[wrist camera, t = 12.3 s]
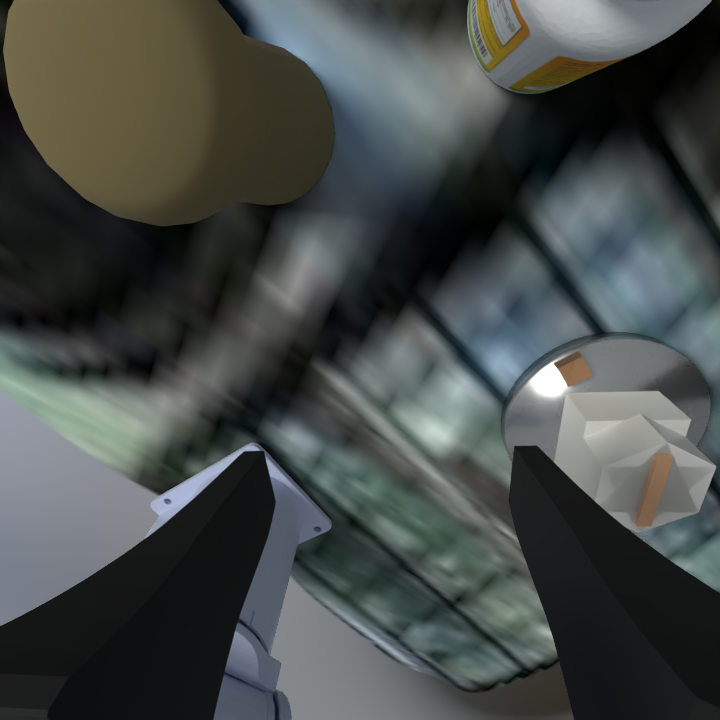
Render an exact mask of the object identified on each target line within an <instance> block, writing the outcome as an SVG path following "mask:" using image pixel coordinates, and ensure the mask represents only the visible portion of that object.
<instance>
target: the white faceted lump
mask: <svg viewBox="0 0 720 720" xmlns="http://www.w3.org/2000/svg"><path fill="white" fill-rule="evenodd" d="M690 422H691V419H690V418H689V417H688V416H687V415H685V414H684V413H683V412H682V411H681V410H680V409H679V408H677V407H676V406H675V405H674V404H673V403H672V402H671V401H669V400H668V399H667V398H666V397H665V396H664V395H663V394H662V393H660V392H659V391H636V392H588V393H566V396H565V402H564V408H563V414H562V420H561V425H560V431H559V437H558V443H557V449H556V455H555V461H554V462H555V464H556V465H557V466H558V467H559V468H560V469H561V470H562V471H563V472H564V473H565V474H566V475H567V476H568V477H569V478H570V479H572V480H573V481H574V482H575V483H576V484H577V485H578V486H579V487H580V488H581V489H582V490H583V491H584V492H585V493H586V494H588V495H589V496H590V497H591V498H592V499H593V500H594V501H595V502H596V503H597V504H598V505H600V506H601V507H602V508H603V509H604V510H605V511H606V512H608V513H609V514H610V515H611V516H612V517H614V518H615V519H616V520H617V521H618V522H620V523H621V524H622V525H623V526H624V527H626V528H628V529H631V530H633V531H635V532H637V533H640V532H643V531H646V530H649V529H652V528H655V527H658V526H661V525H664V524H667V523H670V522H673V521H676V520H678V519H681V518H684V517H687V516H690V515H693V514H696V513H699V511H700V508H701V505H702V503H703V500H704V498H705V495H706V492H707V490H708V487H709V485H710V482H711V479H712V477H713V474H714V472H715V469H716V466H715V465H714V464H713V463H712V462H711V461H710V460H709V459H708V458H707V457H706V456H705V455H704V454H703V453H702V452H701V451H700V450H699V449H698V448H697V447H696V446H695V445H693V444H692V443H691V442H690V441H689V440H688V439H687V438H686V434H687V431H688V428H689V425H690Z"/></svg>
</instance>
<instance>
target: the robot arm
mask: <svg viewBox="0 0 720 720" xmlns="http://www.w3.org/2000/svg"><path fill="white" fill-rule="evenodd" d="M169 499H170V500H169ZM509 504H510V508H511V513H512V517H513V521H514V525H515V530H516V534H517V537H518V540H519V543H520V546H521V549H522V551H523V554H524V557H525V560H526V562H527V565H528V568H529V571H530V573H531V576H532V579H533V582H534V584H535V587H536V590H537V593H538V595H539V598H540V601H541V603H542V606H543V609H544V612H545V614H546V617H547V620H548V623H549V626H550V629H551V633H552V636H553V639H554V643H555V647H556V650H557V654H558V658H559V662H560V665H561V669H562V672H563V677H564V681H565V685H566V689H567V692H568V696H569V700H570V704H571V708H572V712H573V716H574V720H720V593H719V592H717V591H715V590H714V589H712V588H711V587H709V586H708V585H706V584H705V583H703V582H701V581H700V580H698V579H697V578H695V577H694V576H692V575H691V574H689V573H687V572H686V571H684V570H683V569H682V568H680V567H679V566H677V565H676V564H674V563H673V562H671V561H670V560H668V559H667V558H666V557H664V556H663V555H662V554H660V553H659V552H657V551H656V550H655V549H653V548H652V547H651V546H649V545H648V544H646V543H645V542H644V541H642V540H641V539H640V538H638V537H637V536H636V535H635V534H633V533H632V532H631V531H629V530H628V529H627V528H626V527H624V526H623V525H622V524H621V523H620V522H618V521H617V520H616V519H615V518H614V517H612V516H611V515H610V514H609V513H608V512H606V511H605V510H604V509H603V508H602V507H601V506H600V505H598V504H597V503H596V502H595V501H594V500H593V499H592V498H591V497H590V496H589V495H588V494H586V493H585V492H584V491H583V490H582V489H581V488H580V487H579V486H578V485H577V484H576V483H575V482H574V481H573V480H572V479H570V478H569V477H568V476H567V475H566V474H565V473H564V472H563V471H562V470H561V469H560V468H559V467H558V466H557V465H556V464H555V463H554V462H553V461H552V460H551V459H550V458H549V457H548V456H547V455H546V454H545V453H544V452H543V451H542V450H541V449H540V448H539V447H538V446H537V445H533V446H514V452H513V463H512V473H511V484H510V495H509ZM151 508H152V509H153V510H154V511H155V512H156V513H157V514H158V515H159V517H158V519H157V520H156V522H155V523H154V525H153V526H152V528H151V529H150V531H149V532H148V534H147V535H146V537H145V538H144V540H143V541H141V542H140V543H139V544H137V545H136V546H135V547H133V548H132V549H130V550H129V551H128V552H126V553H125V554H123V555H122V556H120V557H119V558H118V559H116V560H114V561H113V562H111V563H110V564H108V565H107V566H105V567H104V568H102V569H101V570H99V571H97V572H96V573H94V574H93V575H91V576H90V577H88V578H87V579H85V580H84V581H82V582H80V583H79V584H77V585H75V586H74V587H72V588H70V589H69V590H67V591H65V592H63V593H62V594H60V595H58V596H57V597H55V598H53V599H51V600H49V601H48V602H46V603H44V604H42V605H41V606H39V607H37V608H35V609H33V610H31V611H29V612H27V613H26V614H24V615H22V616H20V617H18V618H16V619H14V620H12V621H10V622H8V623H6V624H4V625H2V626H0V720H292V716H291V709H290V705H289V702H288V699H287V697H286V696H285V694H284V693H283V692H281V691H278V690H276V685H277V681H278V676H279V671H280V667H281V663H280V662H279V661H278V660H276V659H274V658H272V657H271V656H270V653H271V649H272V645H273V641H274V637H275V633H276V629H277V625H278V621H279V617H280V613H281V609H282V605H283V600H284V597H285V593H286V589H287V585H288V581H289V577H290V573H291V569H292V565H293V561H294V557H295V553H296V549H297V545H298V544H301V543H303V542H305V541H307V540H309V539H311V538H314V537H316V536H318V535H320V534H322V533H325V532H327V531H329V530H330V529H331V526H332V521H331V520H330V519H329V518H328V517H327V515H326V514H325V513H324V512H323V511H322V510H321V509H320V508H319V507H318V506H317V505H316V504H315V503H314V502H313V501H312V500H311V498H310V497H309V496H308V495H307V494H306V493H305V492H304V491H303V490H302V489H301V488H300V487H299V486H298V485H297V484H296V483H295V482H294V480H293V479H292V478H291V477H290V476H289V475H288V474H287V473H286V472H285V471H284V470H283V469H282V468H281V467H280V466H279V465H278V463H277V462H276V461H275V460H274V459H273V458H272V457H271V456H270V455H269V454H268V453H267V452H266V451H265V450H264V449H263V448H262V446H260V445H259V444H257V443H249V444H248V445H246V446H244V447H242V448H241V449H239V450H237V451H236V452H234V453H232V454H230V455H229V456H227V457H225V458H224V459H222V460H220V461H218V462H217V463H215V464H213V465H212V466H210V467H208V468H206V469H205V470H203V471H201V472H199V473H198V474H196V475H194V476H193V477H191V478H189V479H187V480H186V481H184V482H182V483H181V484H179V485H177V486H175V487H174V488H172V489H170V490H169V491H167V492H165V493H163V494H162V495H160V496H158V497H157V498H155V499H154V500H153V501H152V503H151Z"/></svg>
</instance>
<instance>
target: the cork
mask: <svg viewBox="0 0 720 720" xmlns="http://www.w3.org/2000/svg"><path fill="white" fill-rule="evenodd" d="M3 52H4V59H5V66H6V73H7V80H8V87H9V93H10V95H11V98H12V100H13V103H14V105H15V108H16V110H17V113H18V115H19V118H20V120H21V123H22V125H23V128H24V130H25V132H26V133H27V135H28V136H29V138H30V139H31V141H32V142H33V144H34V145H35V147H36V148H37V149H38V151H39V152H40V154H41V155H42V157H43V158H44V160H45V161H46V163H47V164H48V165H49V166H50V167H51V168H52V169H53V170H54V171H55V172H57V173H58V174H59V175H60V176H61V177H62V178H63V179H64V180H65V181H66V182H67V183H68V184H69V185H70V186H72V187H73V188H74V189H75V190H76V191H77V192H78V193H79V194H80V195H81V196H83V197H84V198H85V199H86V200H88V201H90V202H92V203H94V204H95V205H97V206H99V207H101V208H103V209H105V210H106V211H108V212H110V213H112V214H114V215H115V216H118V217H122V218H126V219H131V220H135V221H140V222H144V223H149V224H154V225H159V226H168V225H177V224H187V223H194V222H197V221H199V220H202V219H204V218H206V217H208V216H210V215H212V214H214V213H216V212H218V211H220V210H222V209H224V208H226V207H228V206H229V205H230V204H231V203H232V202H233V201H237V202H245V203H253V204H261V205H276V204H285V203H289V202H291V201H293V200H295V199H297V198H299V197H301V196H303V195H305V194H307V193H308V192H309V191H310V190H311V189H312V188H313V186H314V185H315V184H316V183H317V182H318V181H319V180H320V179H321V178H322V176H323V173H324V171H325V169H326V167H327V165H328V163H329V161H330V159H331V154H332V148H333V142H334V135H335V132H334V124H333V115H332V108H331V105H330V103H329V100H328V98H327V95H326V93H325V91H324V88H323V86H322V83H321V82H320V81H319V80H318V78H317V77H316V76H315V75H314V73H313V72H312V71H311V69H310V68H309V67H308V66H307V64H306V63H305V62H303V61H302V60H300V59H299V58H297V57H296V56H294V55H293V54H291V53H290V52H288V51H287V50H285V49H284V48H281V47H278V46H275V45H272V44H269V43H266V42H263V41H260V40H257V39H254V38H250V37H247V36H244V35H243V34H242V32H241V30H240V28H239V27H238V26H237V24H236V23H235V22H234V21H233V19H232V18H231V17H230V16H229V15H228V13H227V12H226V11H225V10H224V8H223V7H222V6H221V5H220V4H219V2H218V1H217V0H14V2H13V4H12V6H11V8H10V10H9V12H8V19H7V27H6V34H5V42H4V50H3Z"/></svg>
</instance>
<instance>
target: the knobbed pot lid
mask: <svg viewBox="0 0 720 720" xmlns="http://www.w3.org/2000/svg"><path fill="white" fill-rule="evenodd" d="M636 391H659V392H660V393H662V394H663V395H664V396H665V397H666V398H667V399H668V400H669V401H671V402H672V403H673V404H674V405H675V406H676V407H677V408H679V409H680V410H681V411H682V412H683V413H684V414H685V415H687V416H688V417H689V418H690V419H691V422H690V425H689V428H688V431H687V434H686V438H687V439H688V440H689V441H690V442H691V443H692V444H693V445H695V446H696V447H697V445H698V443H699V442H700V440H701V438H702V437H703V434H704V432H705V430H706V427H707V424H708V420H709V416H710V407H711V402H710V393H709V390H708V386H707V383H706V381H705V379H704V377H703V375H702V374H701V372H700V371H699V370H698V369H697V367H696V366H695V365H694V364H693V363H692V362H691V361H690V360H688V359H687V358H686V357H685V356H683V355H682V354H680V353H679V352H678V351H676V350H675V349H673V348H671V347H670V346H668V345H667V344H665V343H663V342H661V341H659V340H656V339H654V338H652V337H648V336H644V335H640V334H634V333H626V332H610V333H600V334H594V335H590V336H585V337H582V338H579V339H576V340H573V341H570V342H567V343H565V344H563V345H561V346H559V347H557V348H555V349H553V350H551V351H550V352H548V353H546V354H545V355H543V356H542V357H541V358H539V359H538V360H537V361H535V362H534V363H533V364H532V365H531V366H530V367H529V368H528V369H527V370H525V372H524V373H523V374H522V375H521V376H520V377H519V379H518V380H517V381H516V383H515V384H514V386H513V387H512V389H511V390H510V392H509V395H508V397H507V399H506V401H505V404H504V408H503V411H502V418H501V432H502V437H503V441H504V444H505V447H506V449H507V452H508V454H509V457H510V459H511V461H512V463H513V452H514V446H533V445H537V446H538V447H539V448H540V449H541V450H542V451H543V452H544V453H545V454H546V455H547V456H548V457H549V458H550V459H551V460H552V461H553V462H554V461H555V455H556V449H557V443H558V437H559V431H560V425H561V420H562V414H563V408H564V402H565V396H566V393H588V392H636ZM554 463H555V462H554Z"/></svg>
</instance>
